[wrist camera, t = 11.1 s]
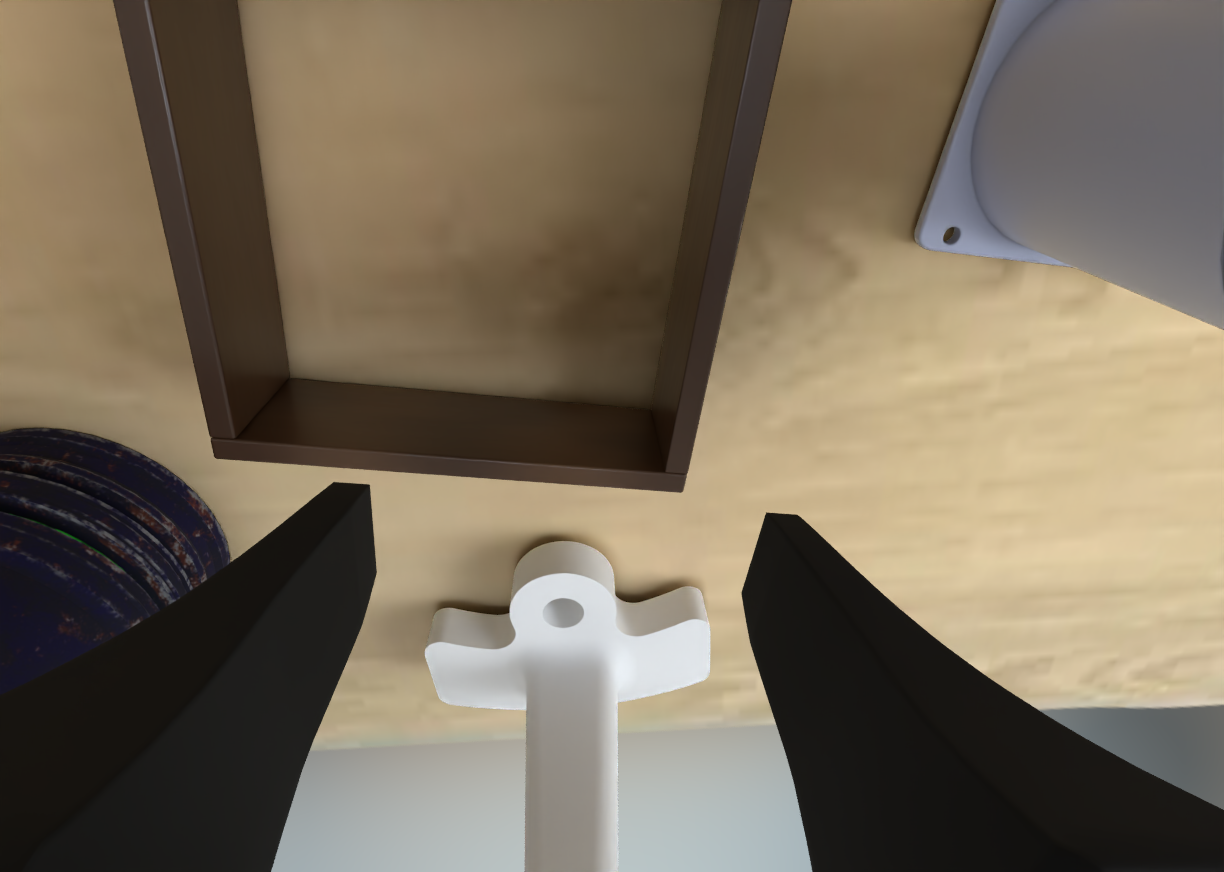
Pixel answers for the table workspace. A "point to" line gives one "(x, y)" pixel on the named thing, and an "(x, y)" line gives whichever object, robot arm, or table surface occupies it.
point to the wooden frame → (396, 417)
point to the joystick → (569, 687)
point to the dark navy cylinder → (90, 546)
